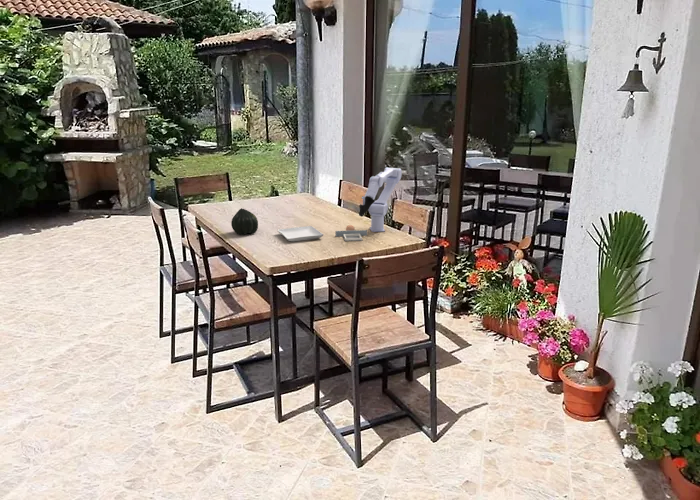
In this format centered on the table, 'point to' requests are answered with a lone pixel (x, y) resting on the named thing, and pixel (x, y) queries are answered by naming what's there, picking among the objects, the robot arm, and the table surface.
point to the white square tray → (352, 237)
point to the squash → (244, 222)
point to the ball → (350, 228)
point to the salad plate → (300, 233)
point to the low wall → (351, 232)
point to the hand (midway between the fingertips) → (363, 212)
